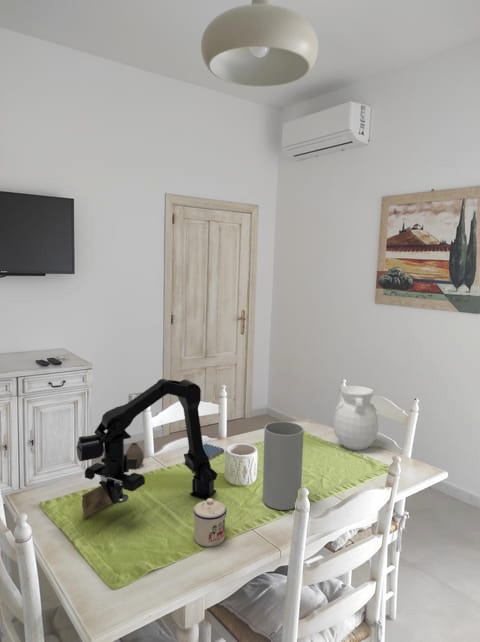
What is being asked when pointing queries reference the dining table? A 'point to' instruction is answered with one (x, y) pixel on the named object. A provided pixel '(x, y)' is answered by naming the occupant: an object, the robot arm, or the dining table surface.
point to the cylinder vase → (282, 464)
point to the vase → (135, 453)
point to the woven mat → (212, 450)
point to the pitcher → (356, 418)
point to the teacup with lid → (209, 523)
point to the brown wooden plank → (95, 501)
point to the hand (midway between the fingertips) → (114, 503)
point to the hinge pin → (122, 497)
